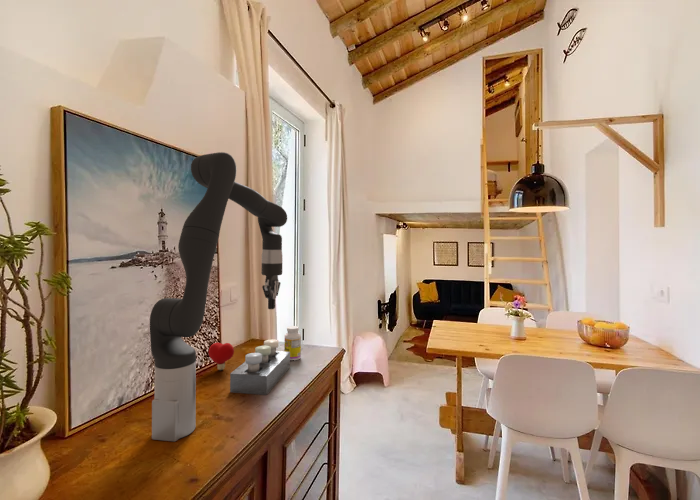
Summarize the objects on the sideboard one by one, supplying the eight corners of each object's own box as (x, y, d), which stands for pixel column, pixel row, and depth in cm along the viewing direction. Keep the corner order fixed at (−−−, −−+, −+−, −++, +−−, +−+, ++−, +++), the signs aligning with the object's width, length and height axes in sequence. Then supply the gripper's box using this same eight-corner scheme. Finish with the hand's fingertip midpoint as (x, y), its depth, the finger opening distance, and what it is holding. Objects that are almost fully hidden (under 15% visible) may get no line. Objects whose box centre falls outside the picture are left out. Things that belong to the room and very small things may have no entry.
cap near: (258, 374, 109) (258, 358, 109) (242, 373, 110) (242, 357, 110) (264, 368, 115) (264, 353, 114) (249, 367, 115) (249, 352, 115)
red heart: (237, 367, 131) (237, 341, 130) (229, 374, 124) (229, 346, 123) (213, 366, 132) (213, 340, 131) (204, 373, 125) (204, 345, 124)
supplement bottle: (282, 356, 143) (282, 326, 143) (298, 354, 146) (298, 324, 146) (286, 362, 137) (287, 330, 137) (302, 360, 140) (303, 328, 140)
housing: (266, 395, 108) (266, 375, 108) (230, 392, 109) (230, 373, 109) (289, 367, 131) (290, 351, 131) (259, 365, 133) (259, 350, 133)
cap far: (275, 357, 125) (275, 343, 125) (261, 356, 126) (261, 343, 126) (280, 352, 130) (280, 339, 130) (266, 352, 131) (267, 339, 131)
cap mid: (267, 365, 117) (267, 350, 117) (252, 364, 118) (252, 349, 118) (272, 360, 122) (272, 346, 122) (258, 359, 123) (258, 345, 123)
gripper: (275, 263, 120) (275, 312, 121) (287, 261, 133) (286, 306, 134) (255, 262, 121) (254, 312, 122) (268, 260, 134) (268, 305, 135)
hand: (271, 308), depth 128 cm, fingers closed
